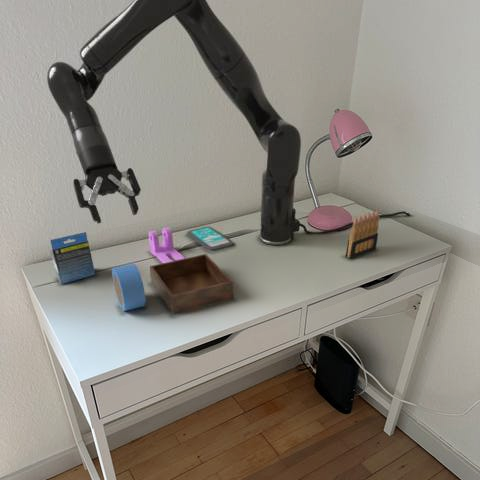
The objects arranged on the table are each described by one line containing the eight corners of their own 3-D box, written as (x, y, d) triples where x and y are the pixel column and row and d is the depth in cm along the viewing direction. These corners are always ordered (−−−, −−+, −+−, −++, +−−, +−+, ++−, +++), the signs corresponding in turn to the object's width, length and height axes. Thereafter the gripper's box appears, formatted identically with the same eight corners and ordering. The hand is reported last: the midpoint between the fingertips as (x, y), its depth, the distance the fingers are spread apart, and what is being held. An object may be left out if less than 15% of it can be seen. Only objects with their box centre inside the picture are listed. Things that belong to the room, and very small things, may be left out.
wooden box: (206, 270, 123) (205, 253, 120) (233, 299, 111) (233, 281, 108) (151, 283, 117) (149, 266, 114) (173, 315, 105) (171, 297, 102)
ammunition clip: (350, 259, 128) (356, 218, 121) (345, 256, 129) (351, 216, 122) (375, 249, 133) (383, 209, 126) (370, 247, 134) (378, 207, 128)
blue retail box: (91, 269, 123) (82, 226, 116) (95, 275, 120) (86, 231, 113) (57, 278, 119) (45, 234, 112) (61, 285, 116) (49, 240, 109)
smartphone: (210, 249, 130) (185, 231, 141) (210, 252, 131) (185, 234, 141) (235, 242, 134) (209, 225, 144) (235, 245, 135) (209, 228, 145)
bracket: (150, 252, 131) (147, 229, 127) (168, 247, 134) (166, 225, 130) (170, 271, 122) (168, 247, 118) (189, 265, 125) (187, 242, 121)
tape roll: (135, 294, 113) (130, 256, 107) (147, 314, 106) (142, 275, 100) (115, 298, 111) (109, 260, 105) (127, 319, 104) (120, 280, 98)
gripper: (62, 149, 100) (87, 220, 100) (125, 138, 105) (149, 205, 105) (62, 164, 107) (86, 230, 107) (122, 153, 112) (144, 216, 112)
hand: (117, 218), depth 106 cm, fingers open, 8 cm apart
